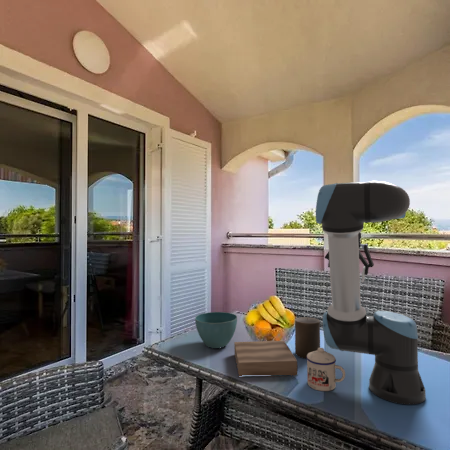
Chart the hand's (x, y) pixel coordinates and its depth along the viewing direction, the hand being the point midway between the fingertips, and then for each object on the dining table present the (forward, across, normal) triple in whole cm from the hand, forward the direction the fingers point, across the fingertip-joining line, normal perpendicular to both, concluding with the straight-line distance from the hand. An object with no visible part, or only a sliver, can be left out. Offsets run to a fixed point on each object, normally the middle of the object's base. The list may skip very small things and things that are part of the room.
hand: (346, 278), depth 144 cm
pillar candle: (+27, +6, +26) cm, 38 cm away
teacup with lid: (+23, -8, +48) cm, 54 cm away
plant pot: (+31, +42, +37) cm, 64 cm away
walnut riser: (+26, +16, +44) cm, 54 cm away
